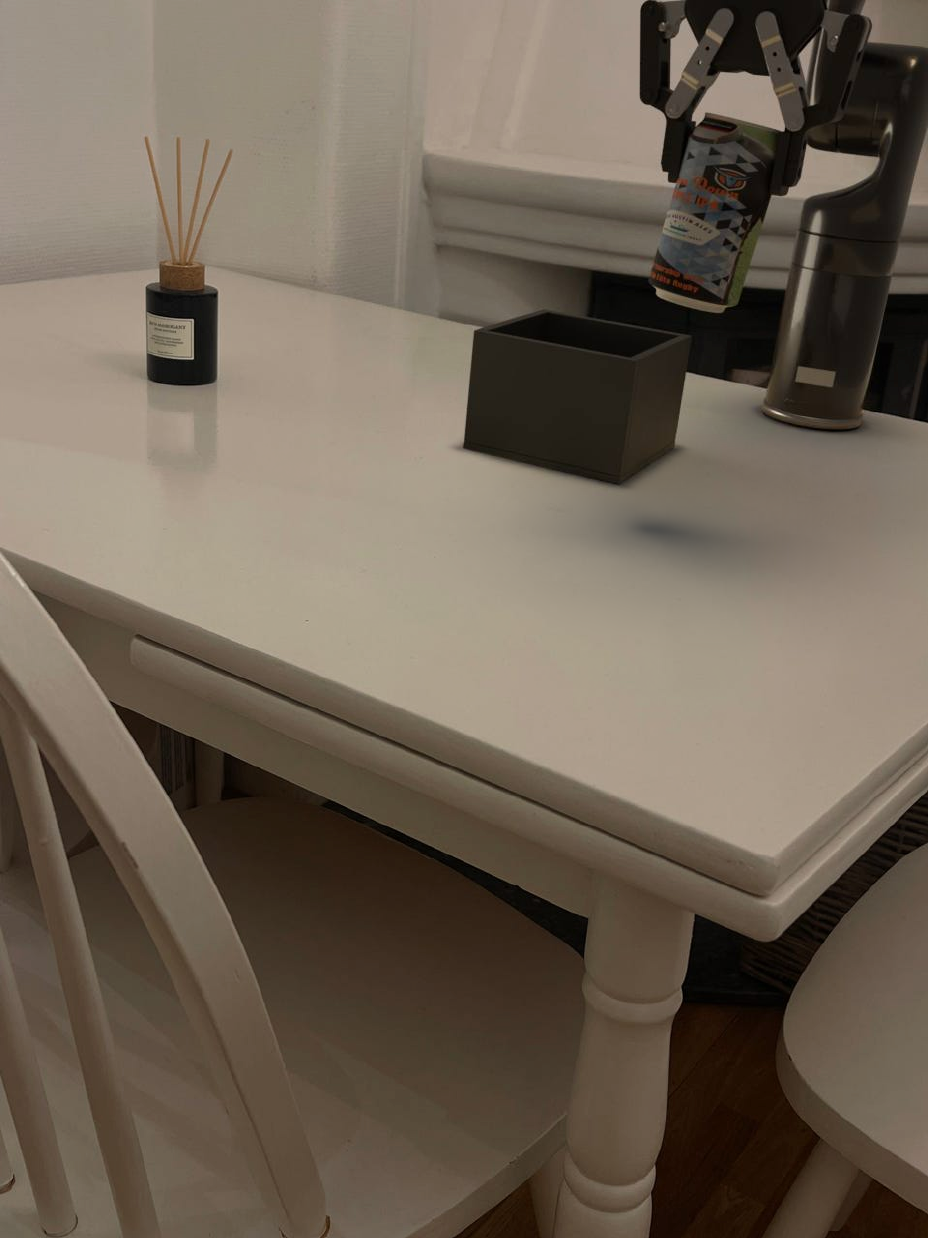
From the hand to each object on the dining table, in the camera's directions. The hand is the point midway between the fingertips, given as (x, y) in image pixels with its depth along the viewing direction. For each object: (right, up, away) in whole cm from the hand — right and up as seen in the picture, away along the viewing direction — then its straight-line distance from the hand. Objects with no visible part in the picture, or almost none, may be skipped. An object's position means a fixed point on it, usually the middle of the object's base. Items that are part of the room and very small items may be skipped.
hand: (726, 187), depth 80 cm
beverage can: (-1, -7, +4) cm, 8 cm away
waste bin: (-8, -13, +26) cm, 30 cm away
